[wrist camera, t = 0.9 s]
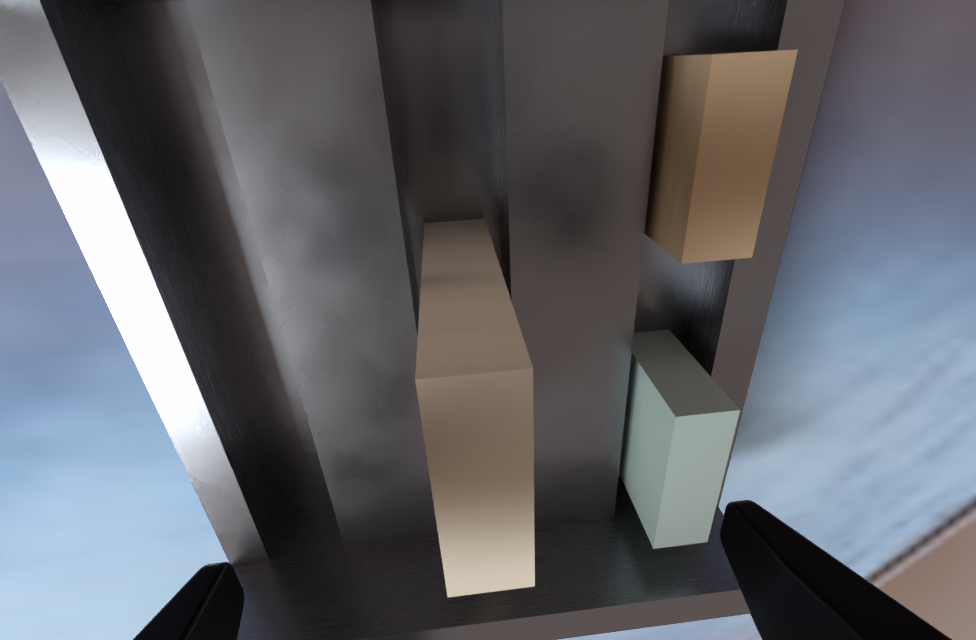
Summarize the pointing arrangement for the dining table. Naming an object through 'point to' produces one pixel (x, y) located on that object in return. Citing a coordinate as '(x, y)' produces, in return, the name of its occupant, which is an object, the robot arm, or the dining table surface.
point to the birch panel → (475, 412)
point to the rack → (400, 271)
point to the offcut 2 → (674, 440)
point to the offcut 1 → (715, 151)
